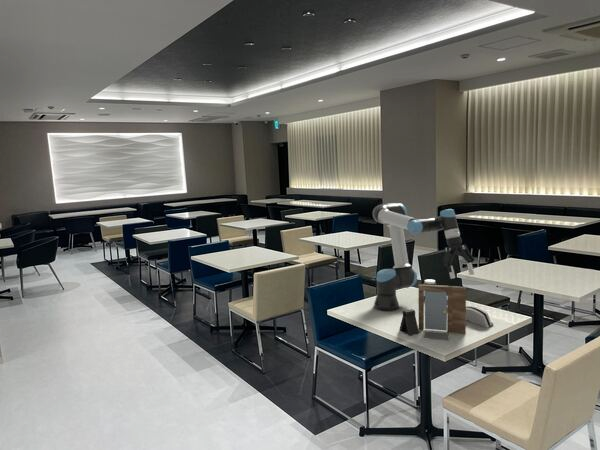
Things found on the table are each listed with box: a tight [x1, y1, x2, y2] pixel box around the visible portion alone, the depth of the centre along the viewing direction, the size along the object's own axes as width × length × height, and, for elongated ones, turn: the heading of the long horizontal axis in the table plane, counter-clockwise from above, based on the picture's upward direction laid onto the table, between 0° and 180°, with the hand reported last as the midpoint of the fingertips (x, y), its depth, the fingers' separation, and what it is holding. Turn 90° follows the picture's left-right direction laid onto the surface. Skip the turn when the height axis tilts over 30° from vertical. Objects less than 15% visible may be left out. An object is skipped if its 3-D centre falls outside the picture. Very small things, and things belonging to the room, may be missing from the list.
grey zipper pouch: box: [466, 305, 494, 328], centre depth 246 cm, size 17×5×10 cm, turn 24°
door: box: [424, 290, 447, 332], centre depth 234 cm, size 11×3×21 cm, turn 70°
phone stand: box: [398, 308, 420, 337], centre depth 235 cm, size 9×6×12 cm, turn 25°
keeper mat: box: [423, 330, 450, 341], centre depth 229 cm, size 9×12×1 cm
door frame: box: [418, 283, 467, 335], centre depth 234 cm, size 2×24×24 cm, turn 70°
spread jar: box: [423, 278, 437, 299], centre depth 292 cm, size 12×11×12 cm
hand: (462, 276), depth 237 cm, fingers open, 13 cm apart
